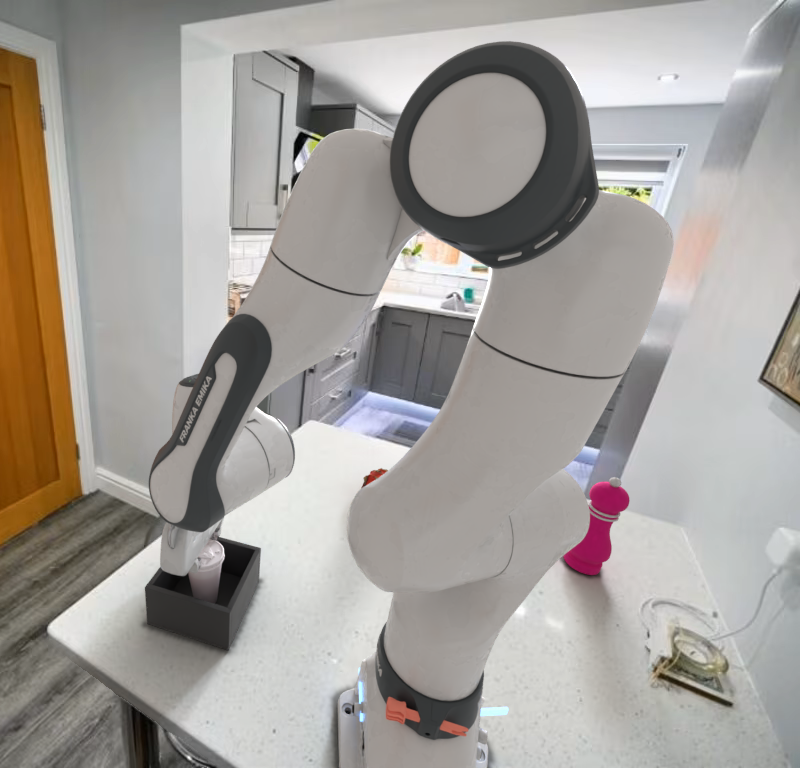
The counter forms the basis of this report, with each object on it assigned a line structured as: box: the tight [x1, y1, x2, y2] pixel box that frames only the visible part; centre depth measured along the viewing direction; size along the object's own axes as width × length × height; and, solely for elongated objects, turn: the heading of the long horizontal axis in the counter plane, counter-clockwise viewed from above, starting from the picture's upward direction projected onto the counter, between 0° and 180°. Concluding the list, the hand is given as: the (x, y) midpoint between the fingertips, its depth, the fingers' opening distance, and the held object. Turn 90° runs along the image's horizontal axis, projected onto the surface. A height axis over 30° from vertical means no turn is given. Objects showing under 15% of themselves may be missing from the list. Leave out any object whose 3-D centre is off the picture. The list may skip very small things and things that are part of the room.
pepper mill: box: [562, 476, 630, 576], centre depth 83 cm, size 7×7×20 cm
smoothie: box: [188, 539, 225, 604], centre depth 69 cm, size 6×6×14 cm
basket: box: [144, 536, 262, 651], centre depth 71 cm, size 14×14×8 cm
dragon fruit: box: [360, 467, 389, 489], centre depth 98 cm, size 8×8×12 cm
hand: (204, 552), depth 68 cm, fingers closed on smoothie, 6 cm apart
